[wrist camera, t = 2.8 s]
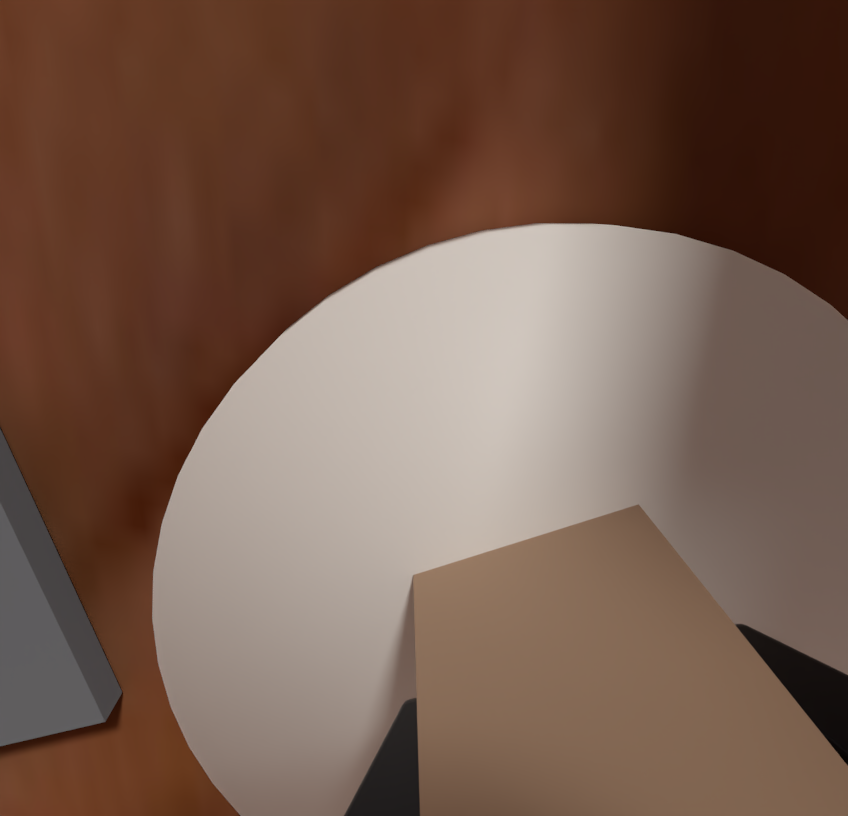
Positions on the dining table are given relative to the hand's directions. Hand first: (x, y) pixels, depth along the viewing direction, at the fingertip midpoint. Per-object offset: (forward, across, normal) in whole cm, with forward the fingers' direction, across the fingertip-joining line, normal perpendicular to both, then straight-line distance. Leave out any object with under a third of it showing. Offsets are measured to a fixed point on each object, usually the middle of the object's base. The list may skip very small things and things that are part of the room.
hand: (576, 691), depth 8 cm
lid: (+2, 0, 0) cm, 2 cm away
